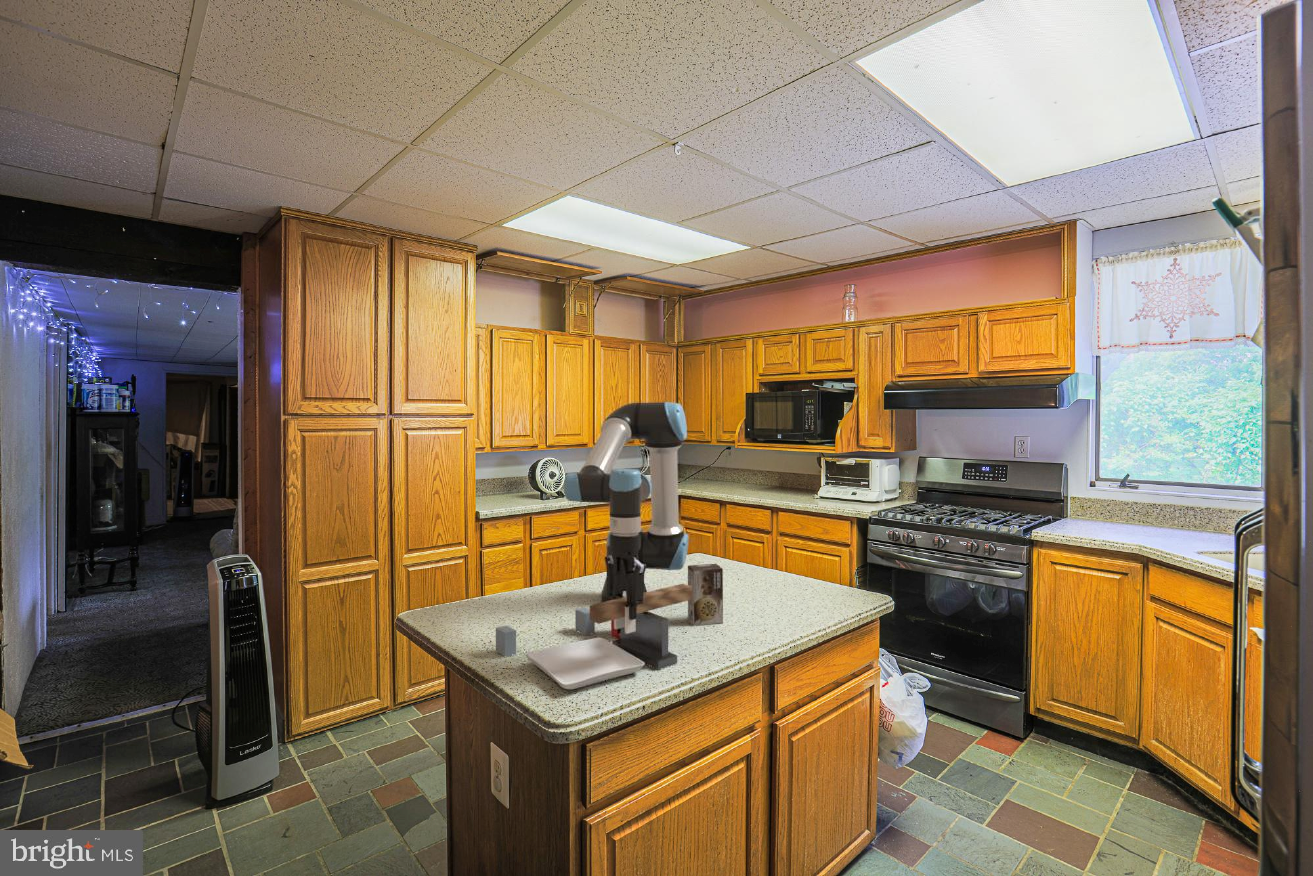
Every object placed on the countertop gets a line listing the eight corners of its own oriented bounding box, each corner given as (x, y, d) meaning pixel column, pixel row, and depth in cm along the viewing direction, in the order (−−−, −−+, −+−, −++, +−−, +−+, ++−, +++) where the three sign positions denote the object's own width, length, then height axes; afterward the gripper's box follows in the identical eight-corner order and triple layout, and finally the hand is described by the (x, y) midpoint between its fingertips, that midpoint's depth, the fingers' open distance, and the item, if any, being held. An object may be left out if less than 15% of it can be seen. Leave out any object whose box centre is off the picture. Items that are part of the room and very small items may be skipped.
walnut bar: (682, 596, 165) (682, 583, 165) (691, 599, 162) (691, 586, 162) (589, 620, 145) (589, 605, 145) (598, 623, 143) (598, 608, 143)
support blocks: (584, 628, 174) (584, 607, 174) (594, 633, 171) (594, 611, 171) (495, 651, 157) (495, 627, 157) (505, 657, 153) (505, 633, 153)
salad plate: (647, 676, 143) (647, 661, 143) (564, 699, 130) (564, 683, 130) (600, 648, 160) (600, 635, 160) (523, 667, 148) (523, 652, 148)
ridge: (630, 643, 163) (630, 601, 163) (677, 663, 149) (677, 618, 149) (612, 648, 159) (612, 606, 159) (658, 670, 145) (658, 623, 145)
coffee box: (716, 616, 186) (716, 563, 185) (723, 623, 179) (723, 568, 179) (686, 619, 183) (687, 564, 183) (693, 626, 177) (693, 569, 177)
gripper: (592, 530, 153) (592, 624, 154) (634, 540, 141) (634, 642, 141) (616, 527, 158) (616, 618, 159) (659, 536, 146) (659, 635, 146)
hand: (624, 629), depth 150 cm, fingers closed on walnut bar, 3 cm apart
